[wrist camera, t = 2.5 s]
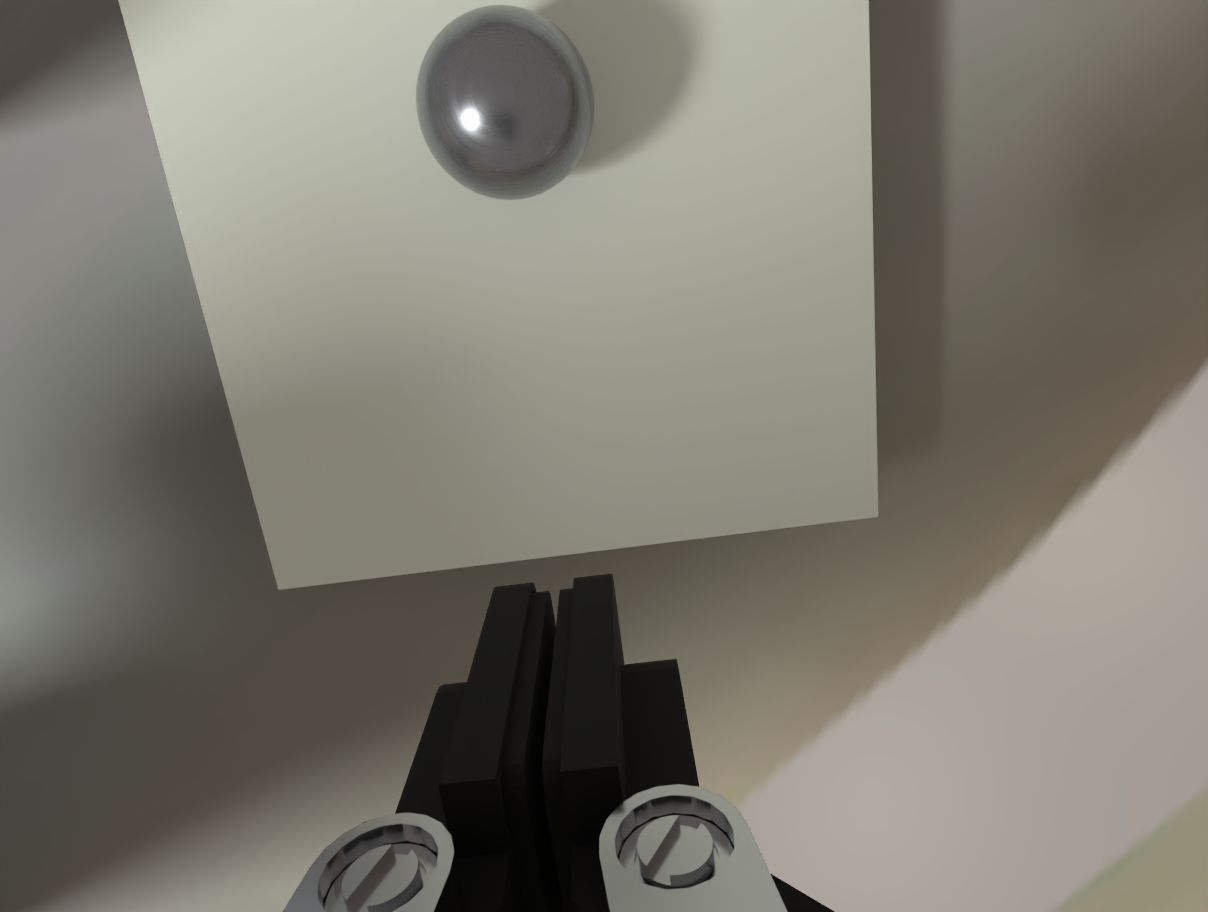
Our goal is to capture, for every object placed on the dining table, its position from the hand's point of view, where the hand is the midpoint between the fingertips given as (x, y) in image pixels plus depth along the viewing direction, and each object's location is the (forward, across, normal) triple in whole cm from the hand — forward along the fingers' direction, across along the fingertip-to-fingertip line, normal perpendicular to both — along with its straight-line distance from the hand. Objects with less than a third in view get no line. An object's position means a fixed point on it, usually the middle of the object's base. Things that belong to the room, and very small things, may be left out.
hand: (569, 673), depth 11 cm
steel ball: (+10, +1, -9) cm, 13 cm away
